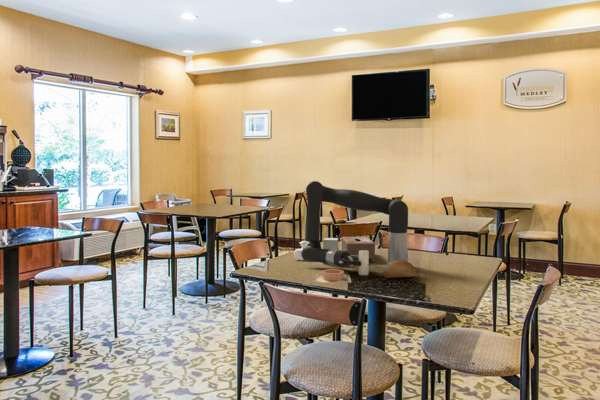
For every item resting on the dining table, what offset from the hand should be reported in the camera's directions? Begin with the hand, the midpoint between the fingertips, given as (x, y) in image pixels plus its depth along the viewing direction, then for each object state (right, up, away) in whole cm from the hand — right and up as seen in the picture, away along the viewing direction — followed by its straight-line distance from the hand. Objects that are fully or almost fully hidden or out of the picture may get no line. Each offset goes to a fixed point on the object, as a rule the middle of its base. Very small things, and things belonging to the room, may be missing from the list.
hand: (366, 262), depth 217 cm
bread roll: (+15, -7, +1) cm, 17 cm away
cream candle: (-1, -7, +1) cm, 7 cm away
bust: (-27, -4, +44) cm, 52 cm away
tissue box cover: (+2, -4, +49) cm, 49 cm away
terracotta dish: (-15, -6, -7) cm, 18 cm away
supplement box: (-14, -5, +35) cm, 38 cm away
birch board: (-15, -8, -6) cm, 18 cm away
